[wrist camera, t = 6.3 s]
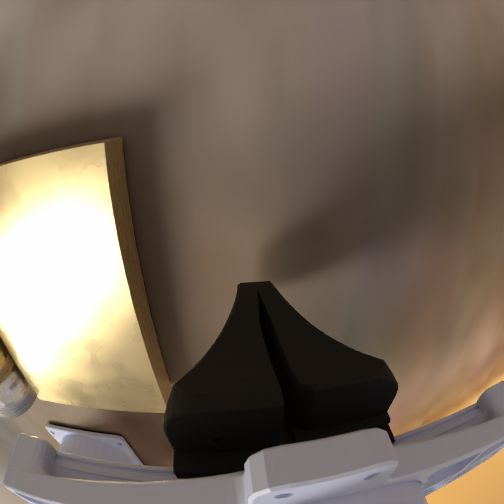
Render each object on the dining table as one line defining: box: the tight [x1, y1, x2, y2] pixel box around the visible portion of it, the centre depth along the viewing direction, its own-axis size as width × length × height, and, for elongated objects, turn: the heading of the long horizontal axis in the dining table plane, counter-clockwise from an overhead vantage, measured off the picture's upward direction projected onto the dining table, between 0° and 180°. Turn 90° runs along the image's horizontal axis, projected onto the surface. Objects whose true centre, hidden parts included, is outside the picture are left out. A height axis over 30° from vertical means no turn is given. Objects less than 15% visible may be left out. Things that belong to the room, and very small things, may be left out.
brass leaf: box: [0, 137, 171, 413], centre depth 11 cm, size 14×14×4 cm
